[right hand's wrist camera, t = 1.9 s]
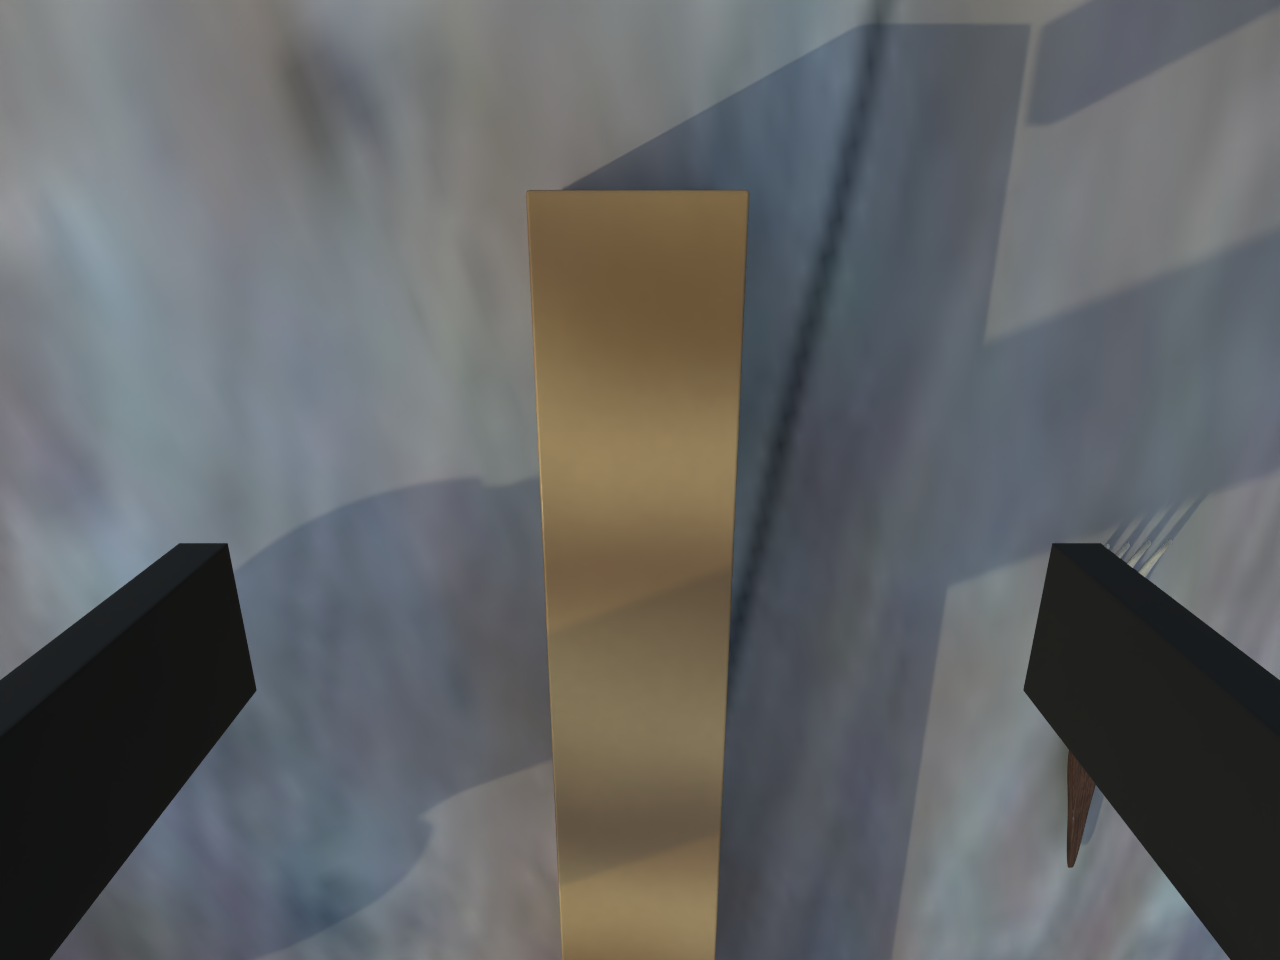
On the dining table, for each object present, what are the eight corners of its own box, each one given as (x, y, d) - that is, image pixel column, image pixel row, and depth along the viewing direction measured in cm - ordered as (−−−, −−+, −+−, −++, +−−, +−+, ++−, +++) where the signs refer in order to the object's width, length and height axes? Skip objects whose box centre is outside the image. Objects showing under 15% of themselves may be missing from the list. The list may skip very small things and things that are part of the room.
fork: (1033, 859, 34) (1056, 898, 32) (1071, 522, 29) (1101, 545, 27) (1094, 855, 34) (1120, 894, 32) (1144, 516, 29) (1179, 539, 27)
